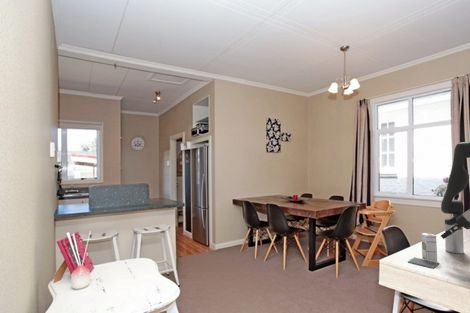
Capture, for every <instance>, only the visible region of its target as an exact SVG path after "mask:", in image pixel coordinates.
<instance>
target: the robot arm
mask: <svg viewBox="0 0 470 313" xmlns="http://www.w3.org/2000/svg"><path fill="white" fill-rule="evenodd" d="M465 159H470V141H464V142H458V143H457V144H456V145H455V147H454V151H453V159H452V166H451V169H450V174H449V177H448V181H447V186H446V190H445V193H444V195H443V198H442V200H441V205H440V208H441V212H442V213H444V214H446V215H447V214H448V215H453V216H452V217H449V218H446V219H444V232H443V233H442V234H441V235H440V238H442V239H443V240H444V247H445V251H446V252H449V253H453V254H464V253H465V251H464V250H465V249H464V248H465V246H464V243H465V241H464V229H466V230H470V208H469V209H468V210H466V211H465V207H464V203H463V201H462V200H460V199H455V197H456V196H458V195H459V194H460V193H462V192H463V191H465V189H466V188H467V186H468V184H469V179H470V175H469V173H468V171H467V170H466V168H465V166H464V163H465ZM464 211H465V212H464Z"/></svg>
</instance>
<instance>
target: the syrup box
mask: <svg viewBox="0 0 470 313" xmlns="http://www.w3.org/2000/svg"><path fill="white" fill-rule="evenodd" d="M421 253H422V254H421V255H422V259H427V260H431V261H436V262H438V246H437V235H435V234H433V233H428V232H421Z"/></svg>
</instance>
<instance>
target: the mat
mask: <svg viewBox="0 0 470 313" xmlns="http://www.w3.org/2000/svg"><path fill="white" fill-rule="evenodd" d="M407 263H408V264H412V265H417V266H421V267H426V268H430V269H435V268H436V267H437V266H439V265H440V263H441V262H440V261H432V260H427V259H425V258H423V257H422V258H421V257H417V256H414V257H412V258H411V259H409V260H408V261H407Z"/></svg>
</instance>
